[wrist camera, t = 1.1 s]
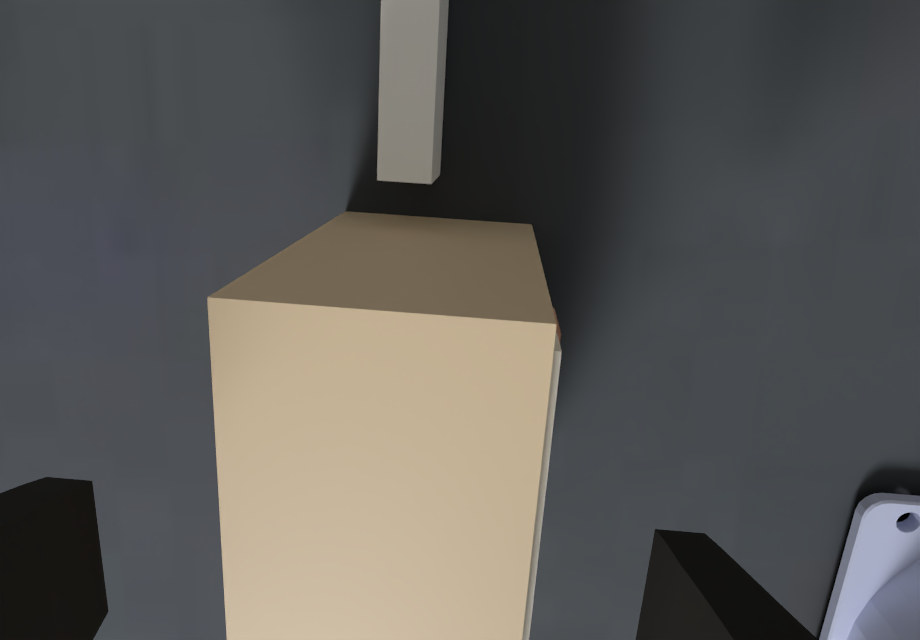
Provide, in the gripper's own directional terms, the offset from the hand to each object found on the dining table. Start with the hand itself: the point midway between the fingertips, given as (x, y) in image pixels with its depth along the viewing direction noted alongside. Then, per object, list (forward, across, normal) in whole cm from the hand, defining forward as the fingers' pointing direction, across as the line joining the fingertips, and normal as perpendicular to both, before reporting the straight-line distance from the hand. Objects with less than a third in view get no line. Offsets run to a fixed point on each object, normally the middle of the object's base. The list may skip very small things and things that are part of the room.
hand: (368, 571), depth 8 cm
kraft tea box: (+7, 0, 0) cm, 7 cm away
